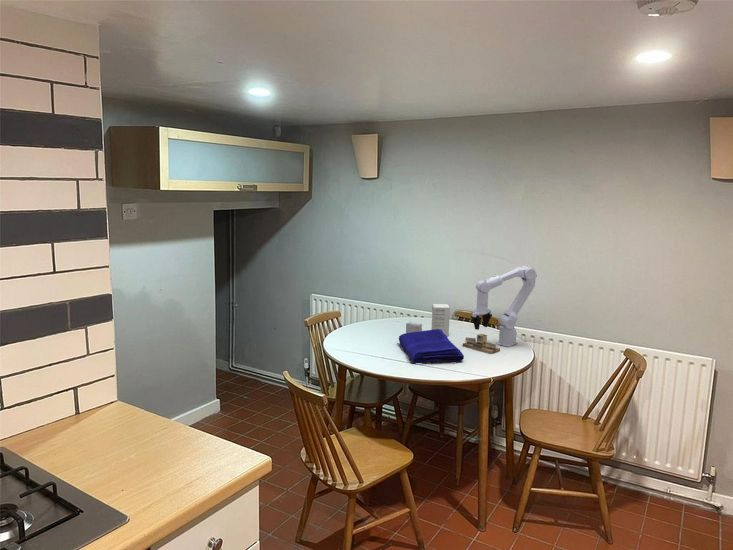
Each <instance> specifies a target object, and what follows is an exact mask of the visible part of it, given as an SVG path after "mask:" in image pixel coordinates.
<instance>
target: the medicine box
mask: <svg viewBox="0 0 733 550" xmlns="http://www.w3.org/2000/svg"><path fill="white" fill-rule="evenodd" d="M420 331H423V324H422V323H420V322H413V321H408V322H407V323H405V334H406V333H411V332H420Z"/></svg>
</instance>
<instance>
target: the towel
mask: <svg viewBox="0 0 733 550" xmlns="http://www.w3.org/2000/svg"><path fill="white" fill-rule="evenodd" d="M398 341H399V344H400V346H401V348H402V349H403V351H404V352H406V353H407V355H408V357H409V359H410V361H411V363H412V364H414V365H417V364H416V363H424V364H427V363H433V362H435V363H436V362H437V361H438V362H439V363H440V362H441V363H451V362H456V363H461V362H462V361H464V358H465V355H464V353H463V352H462V351H461V349H459V348H458V347H457V346H456V345H455V343H453V342H452V341H451V340H450V339H449V338H448V336H446V335H445V334H444V333H443V331H442V329H434V330H432V329H429V330H427V329H426V330H422V331H420V332H411V333H406V332H405V333H403V334H400V335H399V336H398ZM438 362H437V363H438Z"/></svg>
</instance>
